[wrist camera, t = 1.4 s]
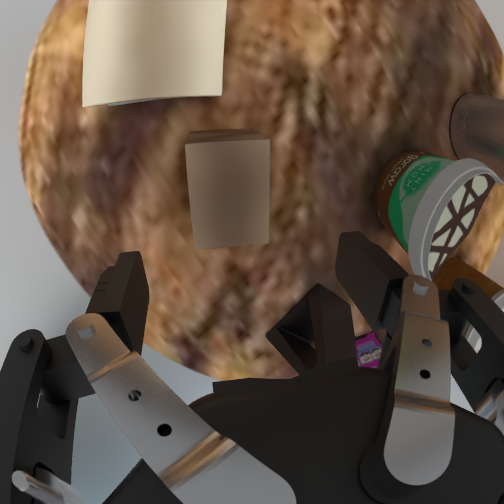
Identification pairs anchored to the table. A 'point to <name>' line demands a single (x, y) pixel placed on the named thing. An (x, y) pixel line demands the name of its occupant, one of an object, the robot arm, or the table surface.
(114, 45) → the slab top
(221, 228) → the walnut block
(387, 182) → the food container
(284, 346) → the phone stand
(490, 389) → the robot arm
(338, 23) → the table surface
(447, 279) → the disposable coffee cup
